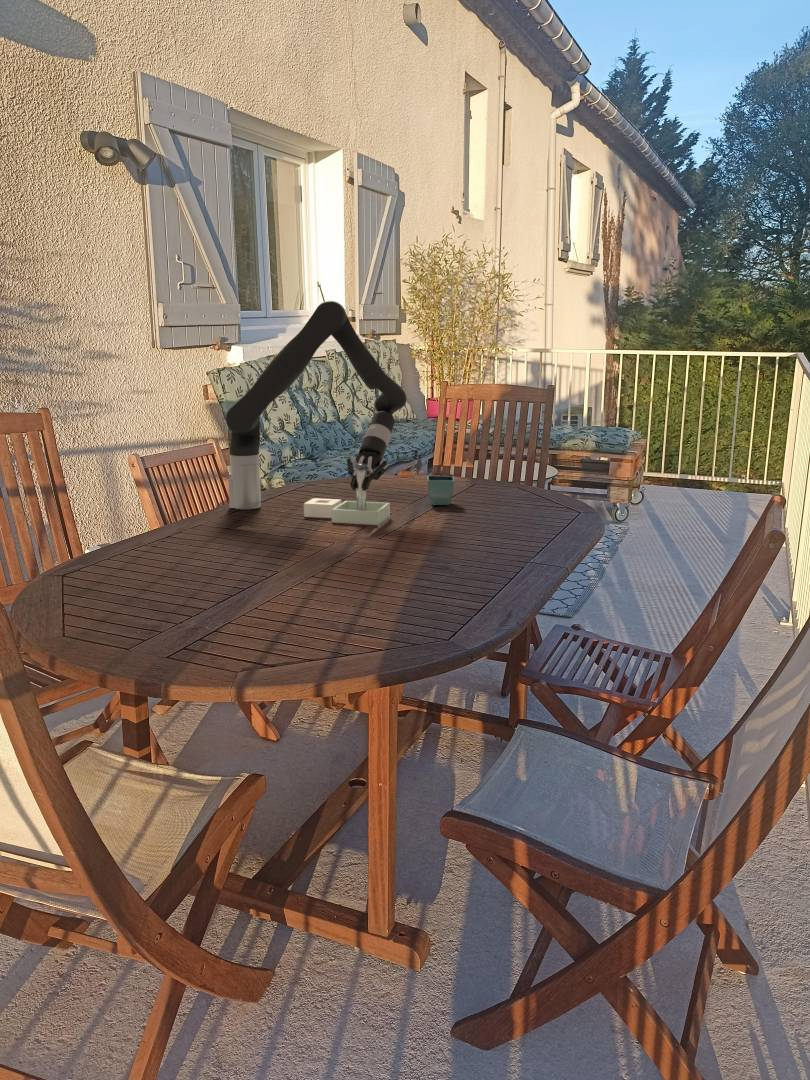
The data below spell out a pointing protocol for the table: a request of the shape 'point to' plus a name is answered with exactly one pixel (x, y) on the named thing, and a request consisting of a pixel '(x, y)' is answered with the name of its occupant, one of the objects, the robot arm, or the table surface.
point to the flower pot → (440, 489)
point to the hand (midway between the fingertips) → (358, 488)
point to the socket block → (320, 507)
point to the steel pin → (360, 493)
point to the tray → (361, 513)
